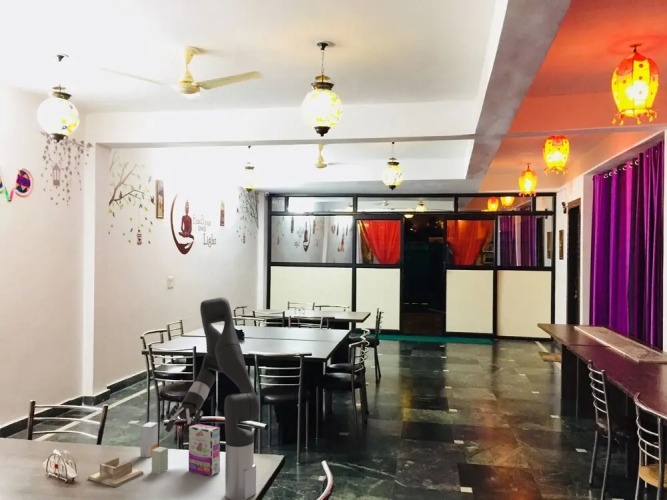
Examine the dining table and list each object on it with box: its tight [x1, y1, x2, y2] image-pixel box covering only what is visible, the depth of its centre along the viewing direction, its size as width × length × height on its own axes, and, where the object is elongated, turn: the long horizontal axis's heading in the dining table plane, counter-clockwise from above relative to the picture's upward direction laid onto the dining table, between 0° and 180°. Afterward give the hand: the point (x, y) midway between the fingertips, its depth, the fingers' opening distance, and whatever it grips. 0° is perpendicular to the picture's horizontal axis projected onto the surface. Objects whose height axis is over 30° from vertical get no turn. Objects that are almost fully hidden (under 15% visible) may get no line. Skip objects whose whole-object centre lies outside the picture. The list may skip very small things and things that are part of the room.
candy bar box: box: [188, 423, 221, 477], centre depth 192 cm, size 11×5×16 cm, turn 62°
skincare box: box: [139, 421, 159, 458], centre depth 209 cm, size 6×4×12 cm
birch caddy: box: [87, 456, 144, 488], centre depth 187 cm, size 14×12×5 cm
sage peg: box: [151, 446, 169, 475], centre depth 193 cm, size 4×4×8 cm
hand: (175, 432), depth 200 cm, fingers open, 8 cm apart
